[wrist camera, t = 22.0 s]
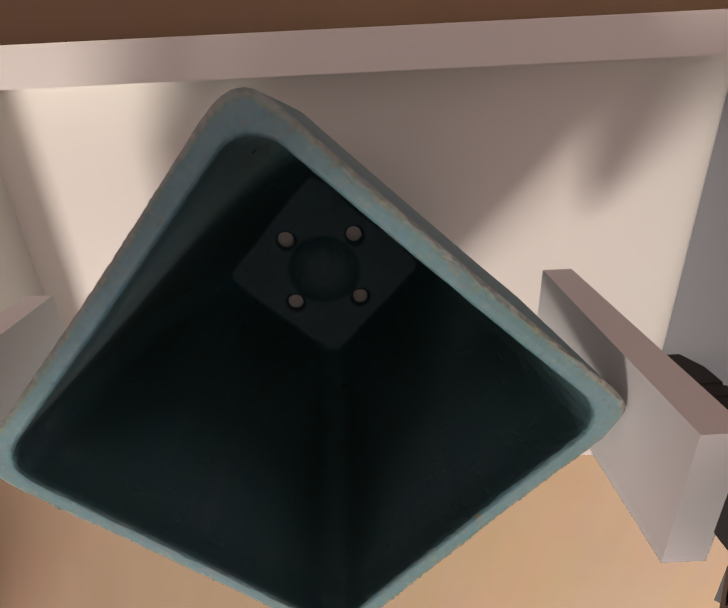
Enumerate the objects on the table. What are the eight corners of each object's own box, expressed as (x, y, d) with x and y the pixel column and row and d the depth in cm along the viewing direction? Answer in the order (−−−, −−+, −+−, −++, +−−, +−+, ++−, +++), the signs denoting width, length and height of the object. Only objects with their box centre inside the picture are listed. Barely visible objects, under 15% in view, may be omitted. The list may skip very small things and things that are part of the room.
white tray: (80, 424, 21) (22, 499, 17) (-56, 55, 15) (-187, 51, 11) (842, 391, 21) (944, 460, 17) (1017, 1, 15) (1233, -21, 11)
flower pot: (508, 249, 17) (645, 416, 9) (346, 410, 20) (338, 648, 12) (303, 67, 14) (232, 67, 6) (151, 281, 17) (-31, 468, 9)
